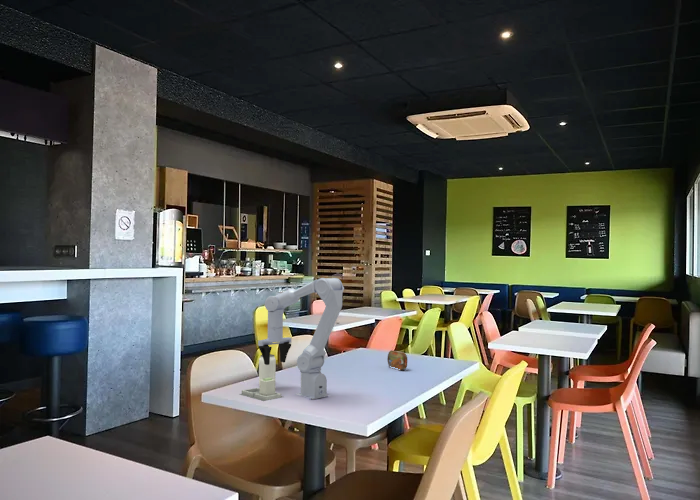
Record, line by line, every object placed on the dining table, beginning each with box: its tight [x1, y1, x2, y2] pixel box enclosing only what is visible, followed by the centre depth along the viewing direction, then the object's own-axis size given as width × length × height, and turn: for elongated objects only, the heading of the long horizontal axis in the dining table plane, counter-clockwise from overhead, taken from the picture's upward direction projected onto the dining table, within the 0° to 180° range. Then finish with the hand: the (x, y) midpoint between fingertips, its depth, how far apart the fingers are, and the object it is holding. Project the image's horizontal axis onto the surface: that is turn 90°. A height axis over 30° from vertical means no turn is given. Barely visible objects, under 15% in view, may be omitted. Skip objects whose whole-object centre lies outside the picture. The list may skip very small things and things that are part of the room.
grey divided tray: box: [238, 387, 284, 402], centre depth 196 cm, size 15×9×2 cm, turn 46°
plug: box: [259, 378, 276, 396], centre depth 194 cm, size 4×4×7 cm
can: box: [258, 353, 277, 386], centre depth 217 cm, size 6×6×12 cm
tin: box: [387, 350, 408, 371], centre depth 257 cm, size 15×3×8 cm, turn 25°
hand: (274, 363), depth 208 cm, fingers open, 7 cm apart
